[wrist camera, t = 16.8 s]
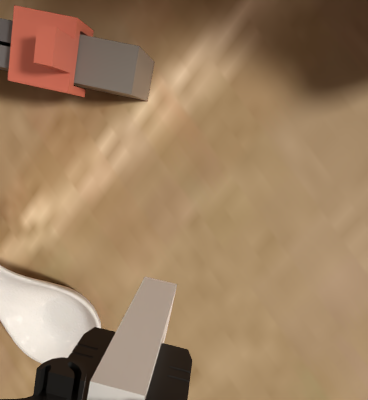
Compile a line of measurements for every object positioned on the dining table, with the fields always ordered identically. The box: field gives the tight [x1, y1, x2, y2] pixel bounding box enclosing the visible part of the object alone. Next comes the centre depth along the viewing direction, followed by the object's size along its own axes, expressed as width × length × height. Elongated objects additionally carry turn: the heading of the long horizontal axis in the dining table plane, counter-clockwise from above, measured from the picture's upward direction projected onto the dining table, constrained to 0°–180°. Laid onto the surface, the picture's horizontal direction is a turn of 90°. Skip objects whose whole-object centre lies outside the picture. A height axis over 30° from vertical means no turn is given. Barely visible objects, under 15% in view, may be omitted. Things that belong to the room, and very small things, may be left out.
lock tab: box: [8, 5, 93, 97], centre depth 31 cm, size 6×7×8 cm
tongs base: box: [0, 18, 154, 101], centre depth 36 cm, size 32×5×7 cm, turn 78°
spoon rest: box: [0, 265, 101, 364], centre depth 43 cm, size 24×12×7 cm, turn 36°
